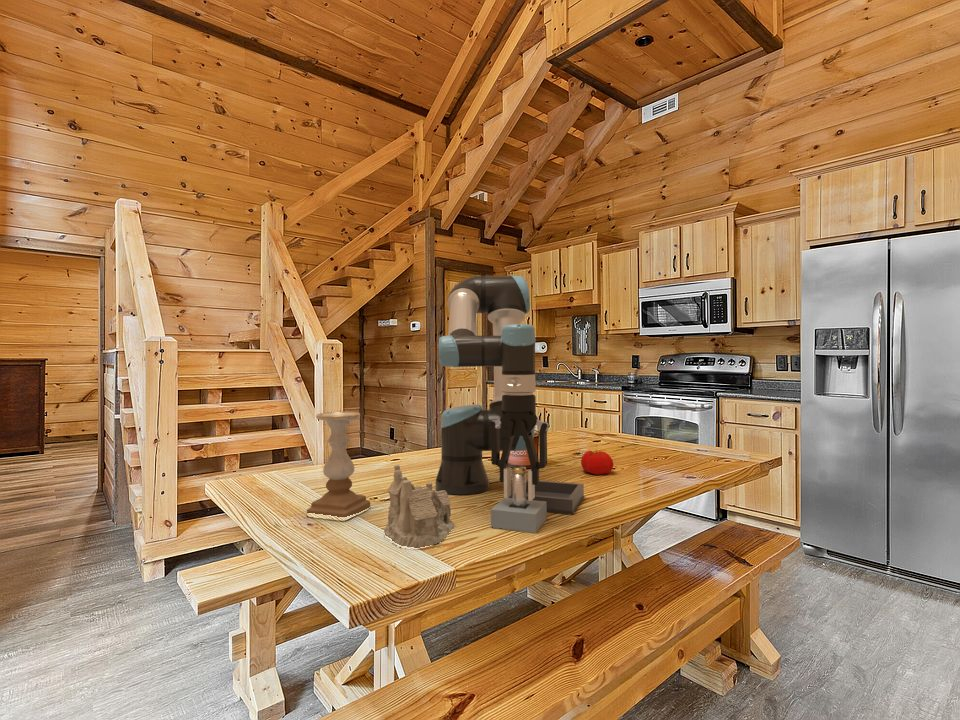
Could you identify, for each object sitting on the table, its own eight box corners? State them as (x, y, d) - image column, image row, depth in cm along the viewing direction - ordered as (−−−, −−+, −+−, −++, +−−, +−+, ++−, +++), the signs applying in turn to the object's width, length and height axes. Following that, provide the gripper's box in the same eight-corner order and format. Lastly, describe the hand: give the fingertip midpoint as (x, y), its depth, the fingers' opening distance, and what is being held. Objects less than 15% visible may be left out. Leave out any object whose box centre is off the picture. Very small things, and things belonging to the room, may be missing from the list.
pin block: (490, 527, 110) (490, 509, 110) (505, 514, 120) (505, 497, 120) (535, 533, 107) (535, 514, 107) (546, 518, 116) (546, 501, 116)
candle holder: (371, 508, 125) (370, 412, 125) (345, 522, 115) (344, 417, 115) (333, 504, 129) (332, 410, 129) (305, 517, 119) (304, 415, 118)
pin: (511, 524, 112) (510, 468, 112) (515, 520, 115) (514, 465, 115) (524, 526, 111) (523, 469, 111) (527, 522, 114) (527, 466, 114)
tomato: (606, 468, 169) (606, 449, 168) (616, 476, 158) (616, 455, 158) (577, 469, 168) (577, 449, 168) (585, 477, 157) (585, 455, 157)
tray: (507, 508, 125) (507, 493, 125) (525, 491, 140) (525, 479, 140) (572, 514, 119) (572, 499, 119) (583, 497, 134) (583, 483, 134)
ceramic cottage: (396, 552, 96) (400, 472, 97) (376, 529, 111) (379, 460, 112) (471, 544, 103) (474, 470, 104) (443, 524, 118) (445, 459, 119)
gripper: (475, 394, 113) (475, 498, 113) (554, 395, 106) (555, 506, 107) (486, 391, 120) (487, 490, 120) (561, 393, 113) (562, 497, 114)
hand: (519, 497), depth 113 cm, fingers open, 5 cm apart
